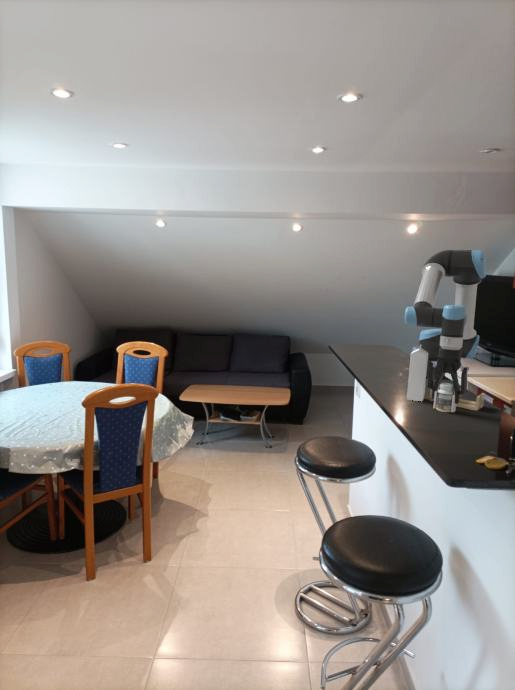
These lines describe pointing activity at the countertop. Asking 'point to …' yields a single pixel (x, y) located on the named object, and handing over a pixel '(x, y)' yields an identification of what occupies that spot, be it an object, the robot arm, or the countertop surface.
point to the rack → (467, 402)
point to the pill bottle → (444, 397)
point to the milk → (417, 375)
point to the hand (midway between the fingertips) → (444, 409)
